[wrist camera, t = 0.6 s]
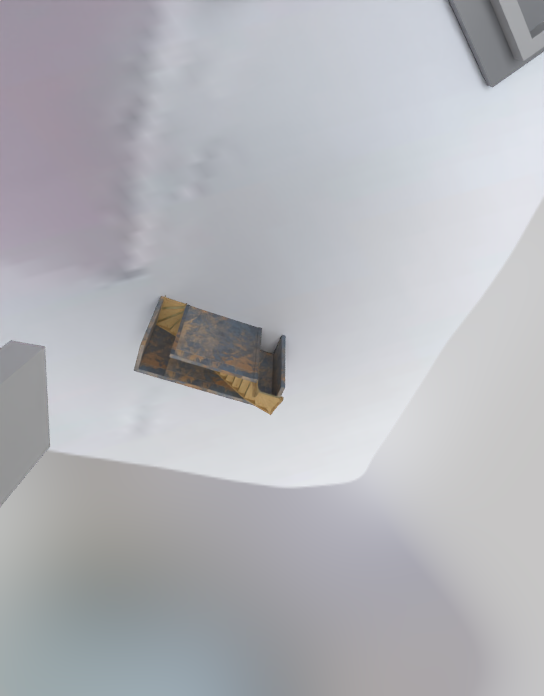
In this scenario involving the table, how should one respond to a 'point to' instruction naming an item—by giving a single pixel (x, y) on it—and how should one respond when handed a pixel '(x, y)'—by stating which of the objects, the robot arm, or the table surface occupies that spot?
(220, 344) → the dark grey upright slab
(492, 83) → the grey compartment tray
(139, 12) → the table surface
